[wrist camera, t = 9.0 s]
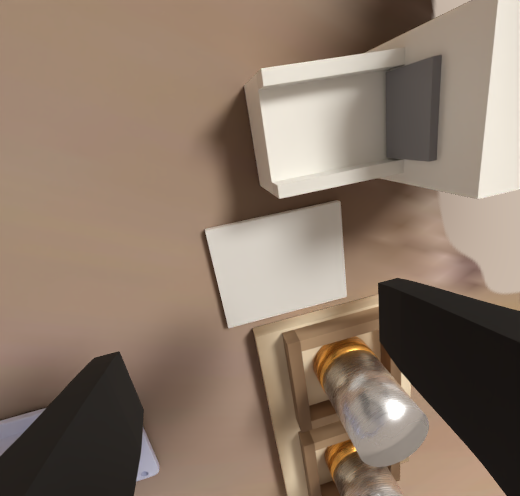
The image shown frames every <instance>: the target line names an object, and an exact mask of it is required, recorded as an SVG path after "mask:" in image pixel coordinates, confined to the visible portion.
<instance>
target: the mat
mask: <svg viewBox="0 0 520 496" xmlns="http://www.w3.org/2000/svg"><path fill="white" fill-rule="evenodd" d="M205 233H206V237H207V241H208V245H209V250H210V254H211V258H212V262H213V266H214V270H215V274H216V279H217V283H218V287H219V291H220V295H221V299H222V304H223V308H224V312H225V316H226V320H227V324H228V328H232V327H235V326H239V325H243V324H247V323H250V322H254V321H258V320H262V319H265V318H269V317H273V316H277V315H280V314H284V313H288V312H292V311H295V310H299V309H303V308H307V307H310V306H314V305H318V304H322V303H325V302H329V301H333V300H337V299H340V298H344V297H347V293H346V278H345V262H344V247H343V231H342V216H341V201H339V200H336V201H331V202H326V203H322V204H317V205H313V206H308V207H303V208H299V209H294V210H290V211H285V212H280V213H276V214H271V215H267V216H262V217H257V218H253V219H248V220H243V221H239V222H234V223H230V224H225V225H220V226H216V227H211V228H207V229H205Z"/></svg>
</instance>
